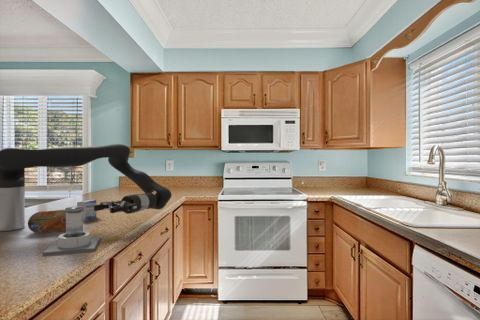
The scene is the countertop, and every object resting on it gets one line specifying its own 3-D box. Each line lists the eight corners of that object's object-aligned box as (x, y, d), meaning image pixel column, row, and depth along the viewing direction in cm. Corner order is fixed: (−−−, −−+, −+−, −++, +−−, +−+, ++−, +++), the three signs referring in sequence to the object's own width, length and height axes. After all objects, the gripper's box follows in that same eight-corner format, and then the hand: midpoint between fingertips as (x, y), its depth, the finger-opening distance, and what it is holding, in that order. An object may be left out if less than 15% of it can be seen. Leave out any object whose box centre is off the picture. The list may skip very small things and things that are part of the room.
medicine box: (84, 220, 131) (85, 202, 131) (76, 220, 132) (76, 201, 132) (96, 217, 139) (96, 199, 139) (88, 216, 140) (89, 199, 139)
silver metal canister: (63, 246, 91) (63, 209, 90) (67, 241, 96) (67, 206, 95) (82, 245, 92) (82, 209, 92) (85, 240, 98) (85, 205, 97)
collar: (42, 255, 85) (42, 242, 85) (56, 242, 98) (56, 230, 98) (94, 251, 90) (94, 238, 90) (100, 238, 103) (100, 228, 103)
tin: (27, 234, 108) (27, 212, 108) (29, 232, 110) (29, 211, 110) (73, 230, 115) (73, 209, 114) (73, 228, 117) (73, 208, 117)
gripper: (123, 193, 122) (89, 197, 107) (148, 195, 116) (116, 200, 101) (122, 210, 122) (89, 217, 107) (148, 213, 116) (116, 221, 101)
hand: (102, 209), depth 104 cm, fingers open, 8 cm apart
